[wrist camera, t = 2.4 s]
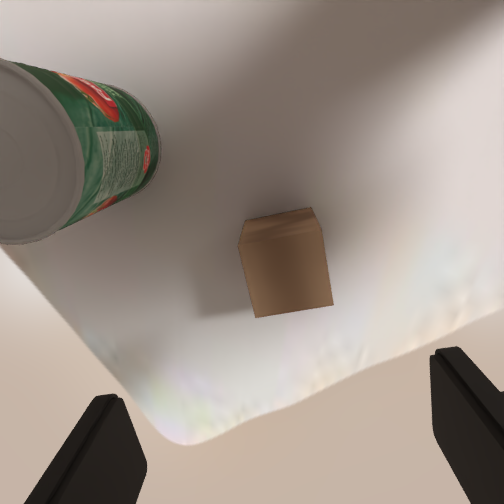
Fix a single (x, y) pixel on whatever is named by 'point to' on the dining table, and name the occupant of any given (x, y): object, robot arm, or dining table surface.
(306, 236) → the walnut block
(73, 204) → the canned tomato
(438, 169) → the dining table surface
